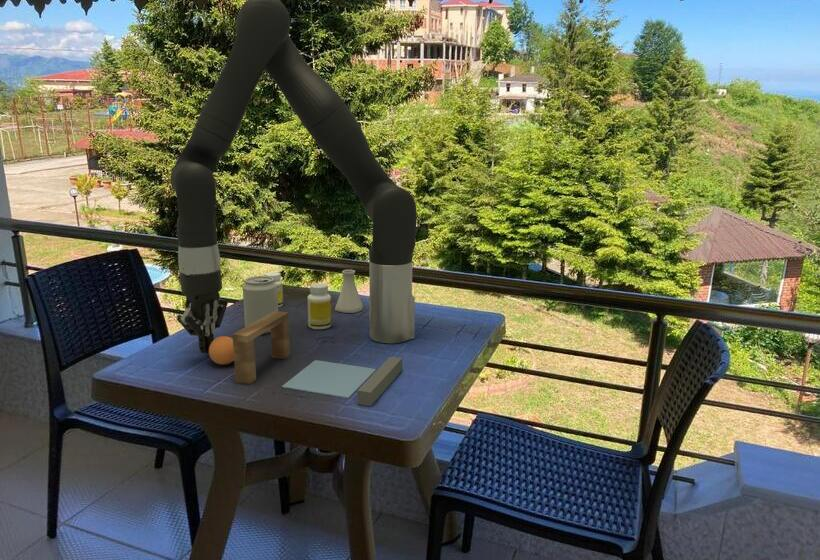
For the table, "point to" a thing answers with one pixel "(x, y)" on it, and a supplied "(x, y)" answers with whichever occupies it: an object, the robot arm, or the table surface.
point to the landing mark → (330, 378)
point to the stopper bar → (379, 381)
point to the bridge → (245, 344)
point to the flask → (349, 295)
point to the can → (259, 298)
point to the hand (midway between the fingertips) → (207, 352)
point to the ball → (222, 350)
